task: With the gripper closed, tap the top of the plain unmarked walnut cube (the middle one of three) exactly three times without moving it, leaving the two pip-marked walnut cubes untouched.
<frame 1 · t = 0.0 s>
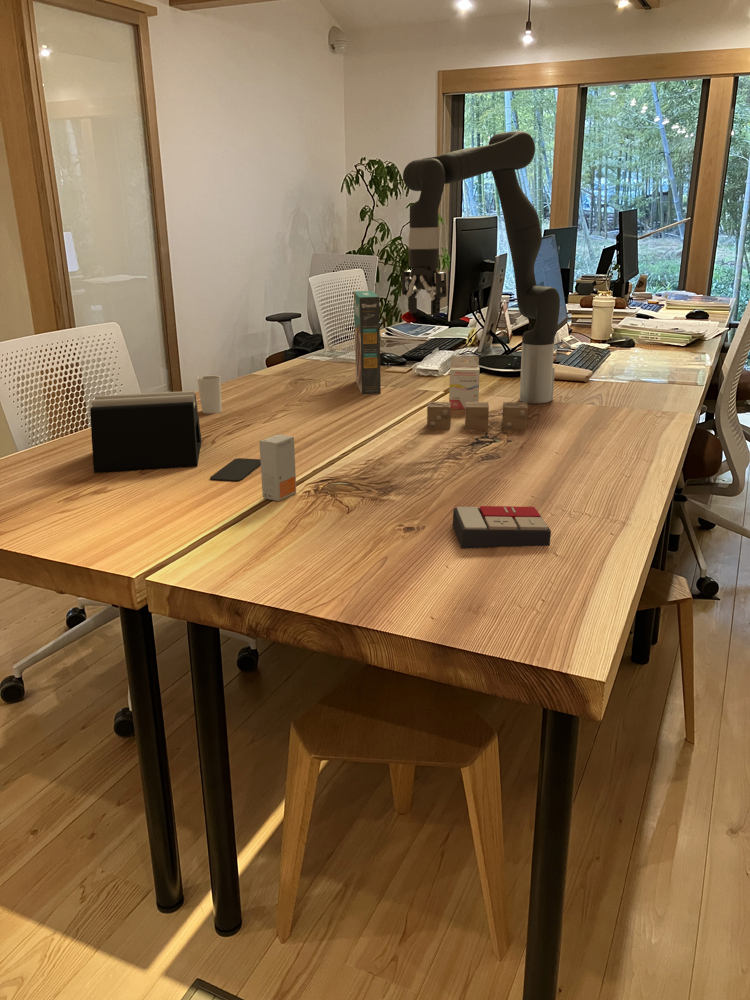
hand: (423, 313, 199), 29 cm above the table, fingers open, 8 cm apart
three pip cube: (439, 426, 208), on the table
cake mix box: (367, 387, 259), on the table
plain walnut cube: (476, 426, 207), on the table
two pip cube: (514, 427, 206), on the table
button keypad: (499, 537, 136), on the table
phone: (238, 472, 174), on the table
skincare box: (280, 496, 157), on the table
device stand: (151, 458, 186), on the table
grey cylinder: (212, 411, 230), on the table
ink cartridge box: (463, 408, 228), on the table
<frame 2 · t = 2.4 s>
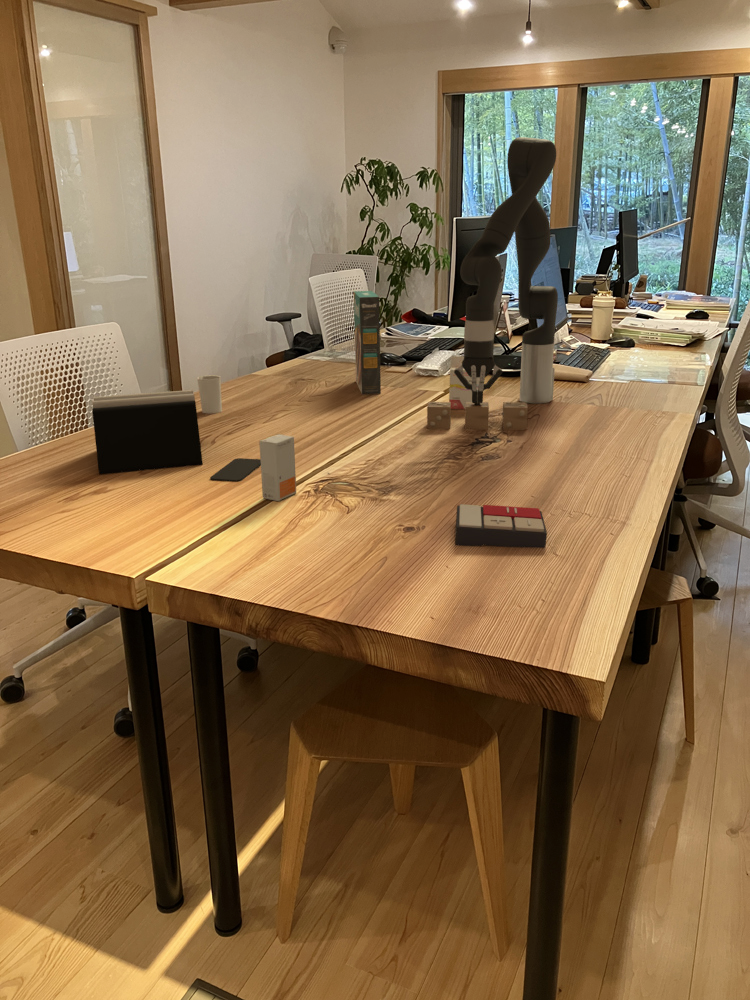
hand: (477, 404, 205), 6 cm above the table, fingers closed
plain walnut cube: (476, 426, 207), on the table, touching gripper
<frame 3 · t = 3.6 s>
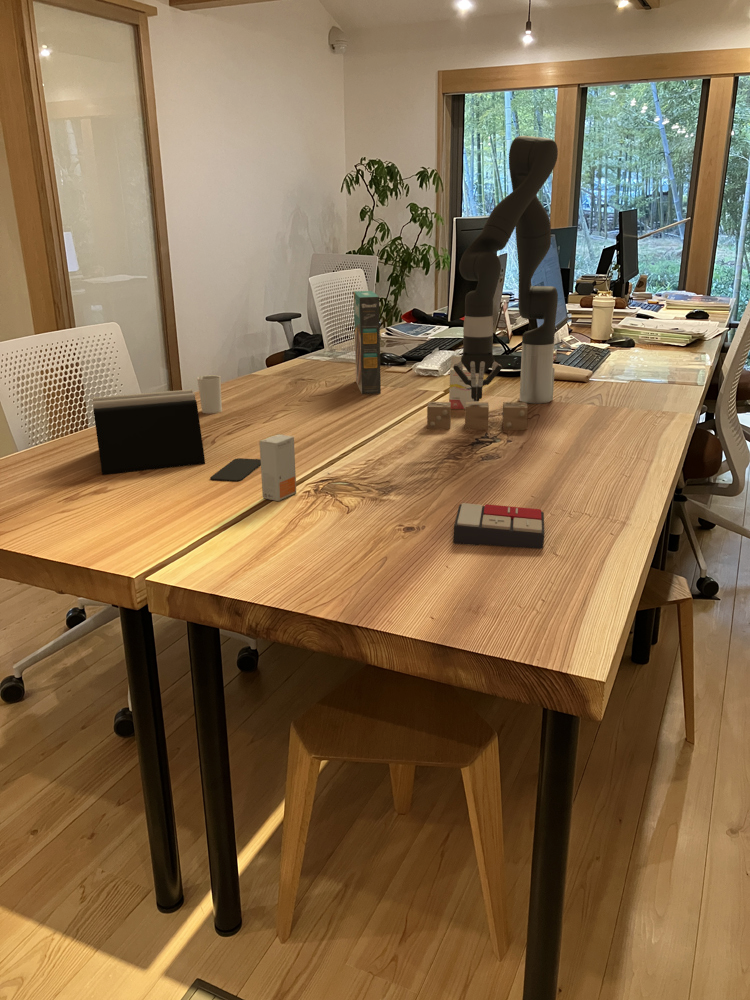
hand: (476, 400, 205), 7 cm above the table, fingers closed
plain walnut cube: (476, 426, 207), on the table
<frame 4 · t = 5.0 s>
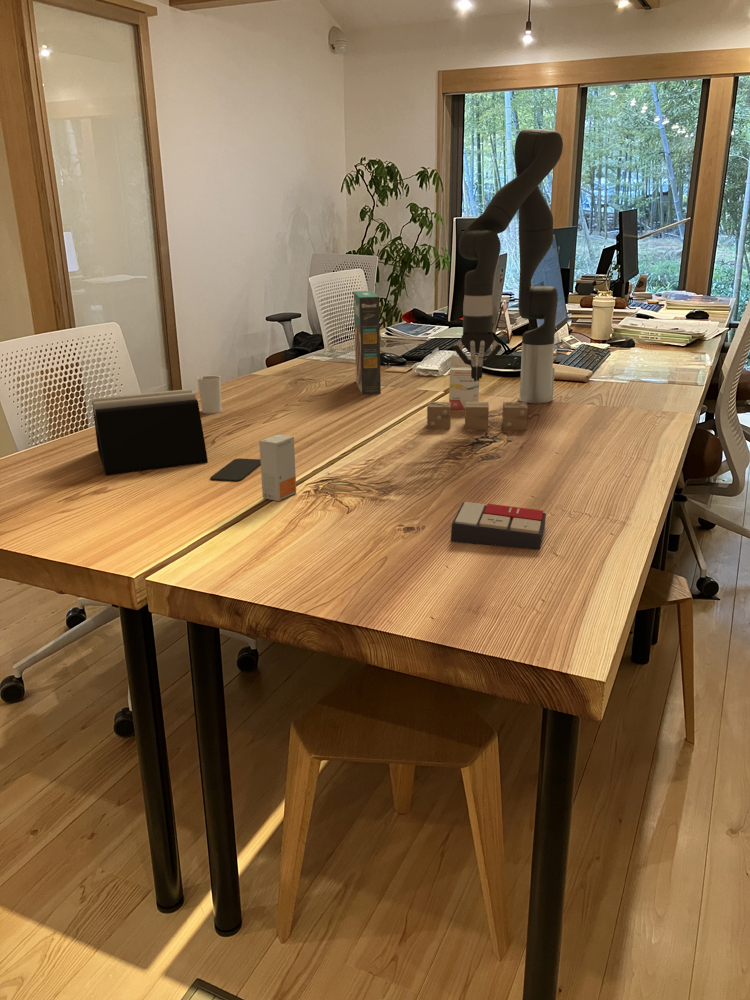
hand: (476, 380, 205), 12 cm above the table, fingers closed
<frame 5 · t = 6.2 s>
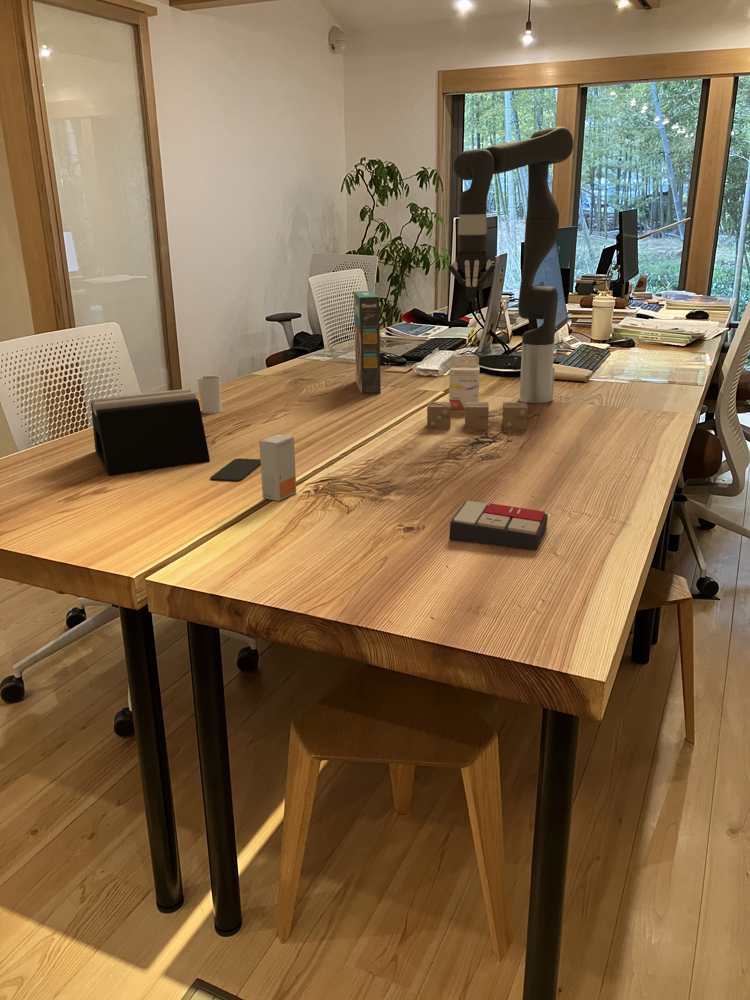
hand: (471, 300, 211), 31 cm above the table, fingers closed
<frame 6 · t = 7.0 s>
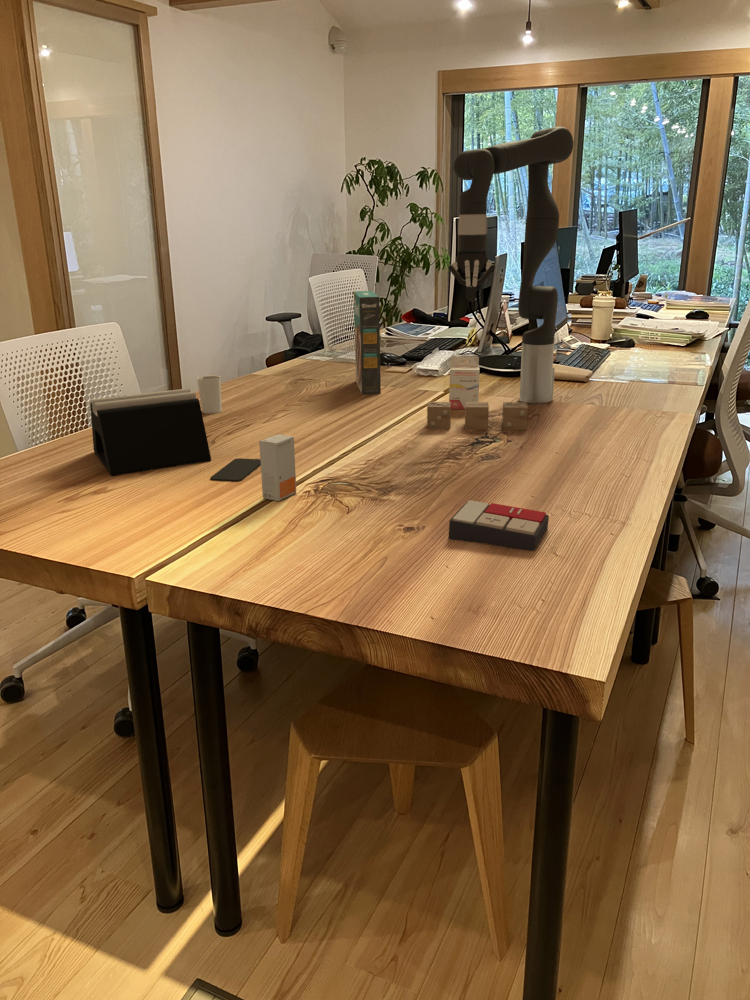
hand: (471, 300, 211), 31 cm above the table, fingers closed
at the end: plain walnut cube moved 0.1 cm from its start; three pip cube moved 0.1 cm from its start; two pip cube moved 0.1 cm from its start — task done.
